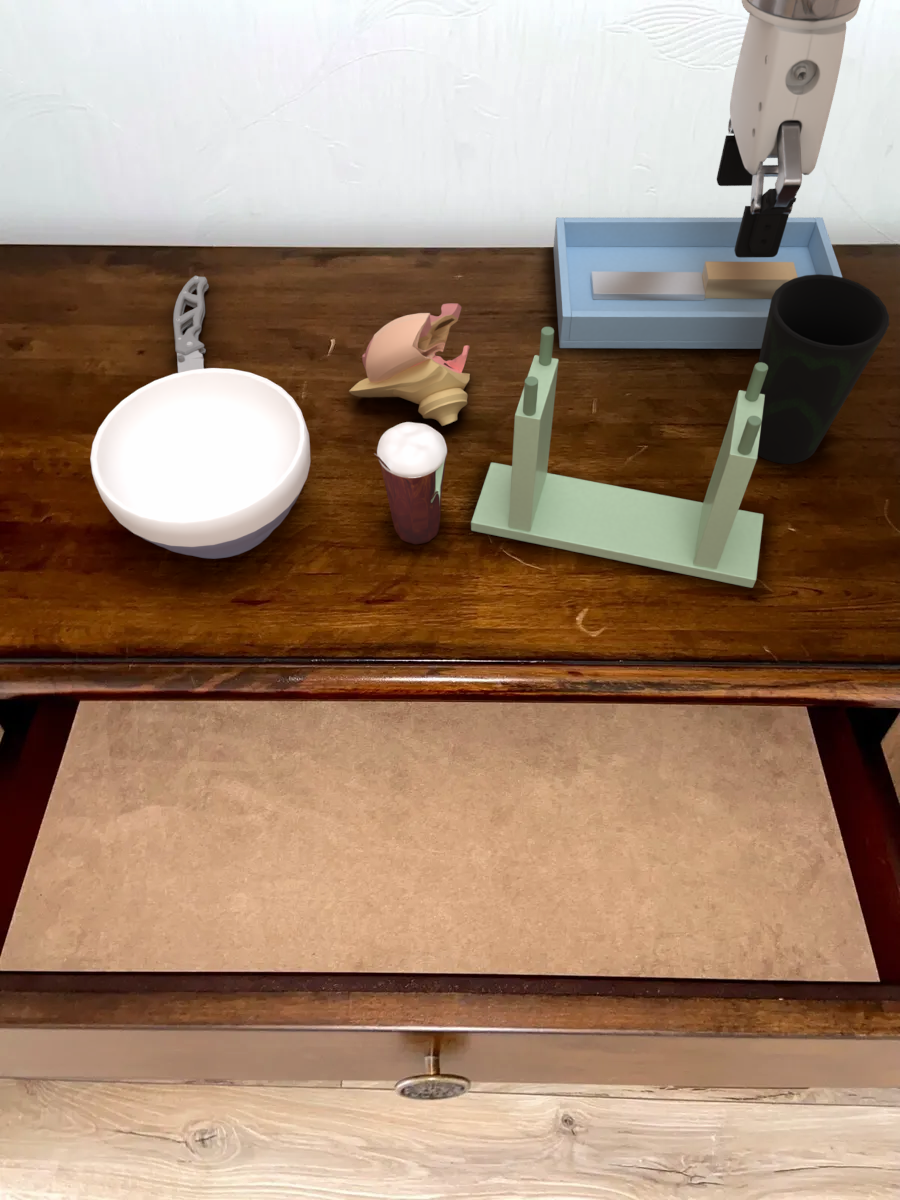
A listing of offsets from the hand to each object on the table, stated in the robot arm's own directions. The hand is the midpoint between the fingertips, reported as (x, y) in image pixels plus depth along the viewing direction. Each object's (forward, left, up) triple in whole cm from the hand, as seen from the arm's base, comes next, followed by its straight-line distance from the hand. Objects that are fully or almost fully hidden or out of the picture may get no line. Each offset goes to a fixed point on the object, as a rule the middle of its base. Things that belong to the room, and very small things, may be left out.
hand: (744, 218), depth 76 cm
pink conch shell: (+23, +18, -8) cm, 30 cm away
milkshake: (+19, +31, -8) cm, 37 cm away
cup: (-6, +15, -8) cm, 18 cm away
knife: (+42, +18, -8) cm, 46 cm away
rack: (+5, +27, -8) cm, 29 cm away
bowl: (+33, +33, -8) cm, 47 cm away
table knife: (+3, 0, -7) cm, 8 cm away
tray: (+3, 0, -8) cm, 8 cm away
